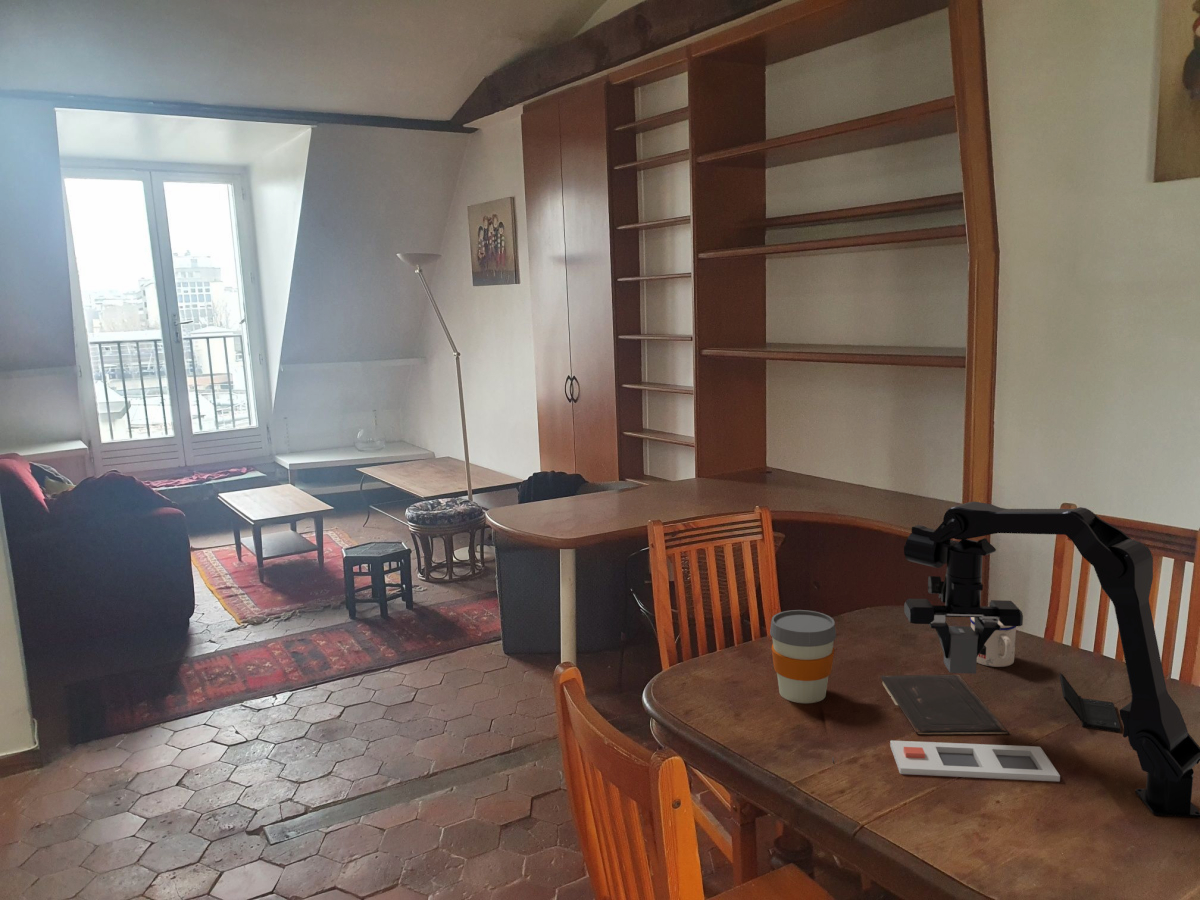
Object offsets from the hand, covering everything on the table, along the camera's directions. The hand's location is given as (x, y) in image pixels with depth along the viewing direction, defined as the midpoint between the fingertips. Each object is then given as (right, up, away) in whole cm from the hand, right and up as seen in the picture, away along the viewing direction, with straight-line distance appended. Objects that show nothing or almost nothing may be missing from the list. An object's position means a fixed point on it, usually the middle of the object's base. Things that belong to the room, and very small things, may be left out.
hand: (960, 657), depth 154 cm
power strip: (-8, -15, -12) cm, 21 cm away
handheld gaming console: (+25, -12, +4) cm, 28 cm away
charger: (0, -2, 0) cm, 2 cm away
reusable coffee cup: (-24, -11, +17) cm, 31 cm away
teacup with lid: (+19, -8, +28) cm, 34 cm away
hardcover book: (0, -12, +8) cm, 15 cm away
